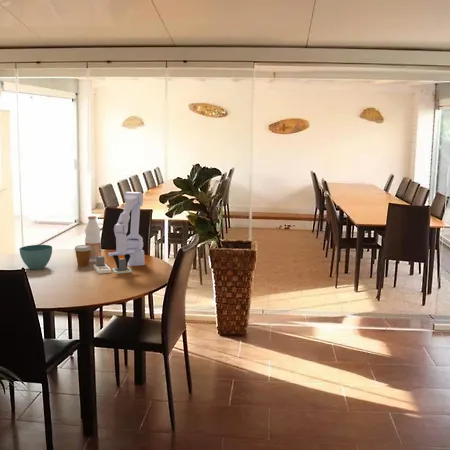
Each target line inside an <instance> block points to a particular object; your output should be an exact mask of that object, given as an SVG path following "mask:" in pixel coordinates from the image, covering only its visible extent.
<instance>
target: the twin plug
mask: <svg viewBox="0 0 450 450" xmlns="http://www.w3.org/2000/svg"><path fill="white" fill-rule="evenodd" d="M105 263H106V262H105V256H104V255H101V256H96V262H95V264H96V265H97V267H98V266H105Z"/></svg>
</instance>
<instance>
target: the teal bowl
mask: <svg viewBox="0 0 450 450" xmlns="http://www.w3.org/2000/svg"><path fill="white" fill-rule="evenodd" d="M52 254H53V246H52V245H50V244H49V245H48V244H31V245H25V246H22V247H20V248H19V255H20V258H21V259H22V262H23V263H24V265H25V266H26V267H27V268H28V269H29V270H32V269H39V270H43V269H45V268H46V267H47V266H48V264H49V262H50V261H51V257H52Z"/></svg>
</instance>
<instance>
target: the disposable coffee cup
mask: <svg viewBox="0 0 450 450" xmlns="http://www.w3.org/2000/svg"><path fill="white" fill-rule="evenodd" d="M74 250H75V256H76V262H77V266H78V267H81V268H83V267H89V265H90V262H89V258H90V250H91V248H90V246H89V245H85V244H81V245H79V244H77V245H75V246H74Z"/></svg>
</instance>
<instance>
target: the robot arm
mask: <svg viewBox="0 0 450 450" xmlns="http://www.w3.org/2000/svg"><path fill="white" fill-rule="evenodd" d="M123 197H124V198H123V199H124V201H125V203H124V208H123V211H122V212H121V213H120V215H119V217H118V220H117V223H116V224H114V227H113V232H114V236H115V245H116V248H115V250H116V251H113V252H112V251H111V252H108V257H112V258H113V260H114V262H115V266H116V268H117V269H119V259H120V258H119V256H124V257H123V258H125V259H126V268H127V267H134V266H135V267H136V266H145V264H146V263H145V260H146V259H145V250H143V247H144V238H143V237H142V236H141V234H139V231H140V230H139V228H140V215H141V207H142V206H143V205H144V201H143V200H144V195H143V193H142V192H141V191H126V192H125V193H124V196H123ZM130 215H131V216H130ZM129 222H130V230H129ZM128 230H129V231H130V233H129V234H128V235H127V233H128V232H129V231H128Z"/></svg>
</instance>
